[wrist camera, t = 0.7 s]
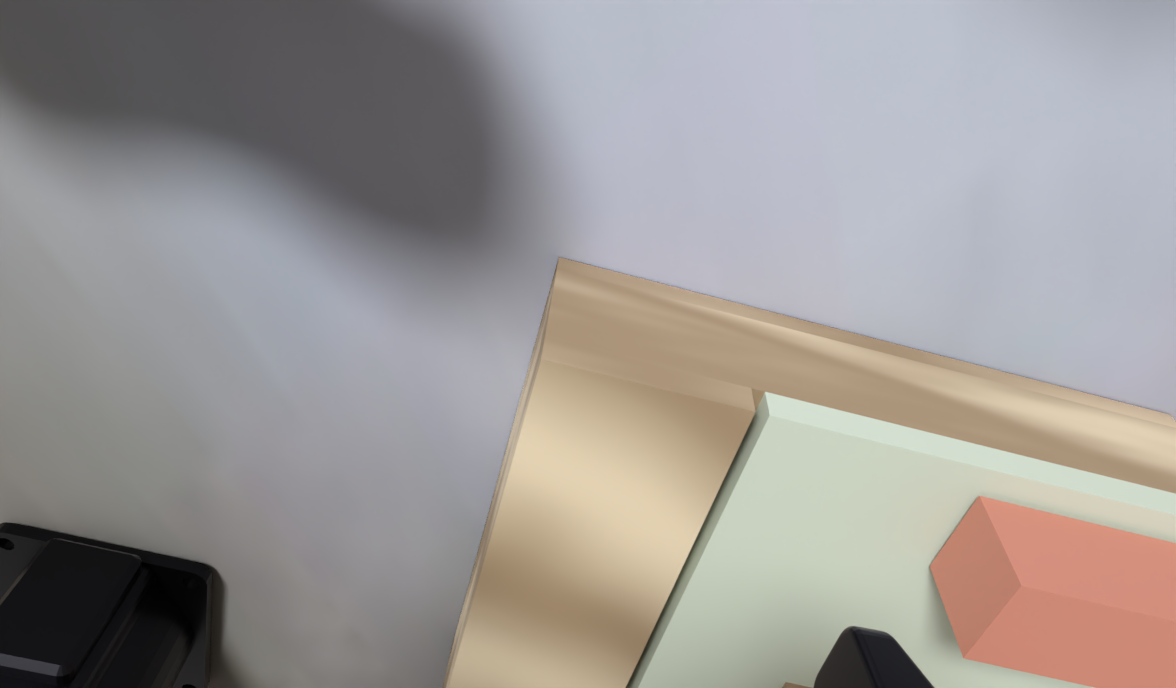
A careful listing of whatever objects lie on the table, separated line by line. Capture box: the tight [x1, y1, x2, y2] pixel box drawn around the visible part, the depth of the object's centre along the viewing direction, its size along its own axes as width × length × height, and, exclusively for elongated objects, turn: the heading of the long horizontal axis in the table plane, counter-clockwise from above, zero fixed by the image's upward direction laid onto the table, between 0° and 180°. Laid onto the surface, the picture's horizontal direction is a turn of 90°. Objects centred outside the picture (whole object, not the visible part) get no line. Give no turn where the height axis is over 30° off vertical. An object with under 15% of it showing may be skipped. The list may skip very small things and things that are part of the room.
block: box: [930, 496, 1176, 688], centre depth 18 cm, size 2×6×2 cm, turn 75°
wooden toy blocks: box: [443, 257, 1176, 688], centre depth 24 cm, size 15×24×4 cm, turn 75°
